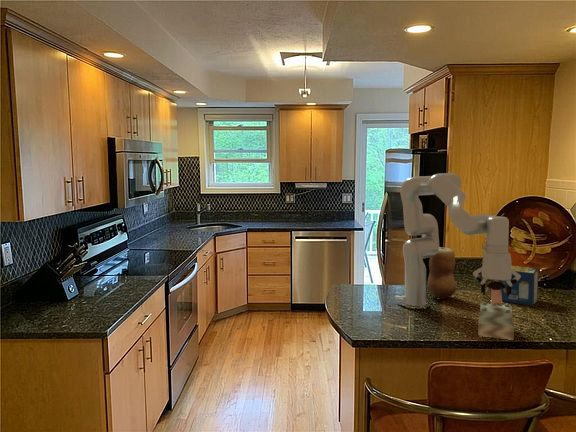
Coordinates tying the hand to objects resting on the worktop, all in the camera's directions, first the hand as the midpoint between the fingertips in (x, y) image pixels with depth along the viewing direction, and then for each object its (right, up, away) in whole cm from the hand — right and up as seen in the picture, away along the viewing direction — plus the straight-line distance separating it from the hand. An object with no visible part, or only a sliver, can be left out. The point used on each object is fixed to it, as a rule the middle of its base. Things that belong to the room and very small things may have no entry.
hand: (495, 294), depth 173 cm
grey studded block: (0, -15, +1) cm, 15 cm away
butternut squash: (-4, -11, +50) cm, 51 cm away
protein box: (+30, -11, +43) cm, 53 cm away
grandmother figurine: (0, -4, +1) cm, 4 cm away
